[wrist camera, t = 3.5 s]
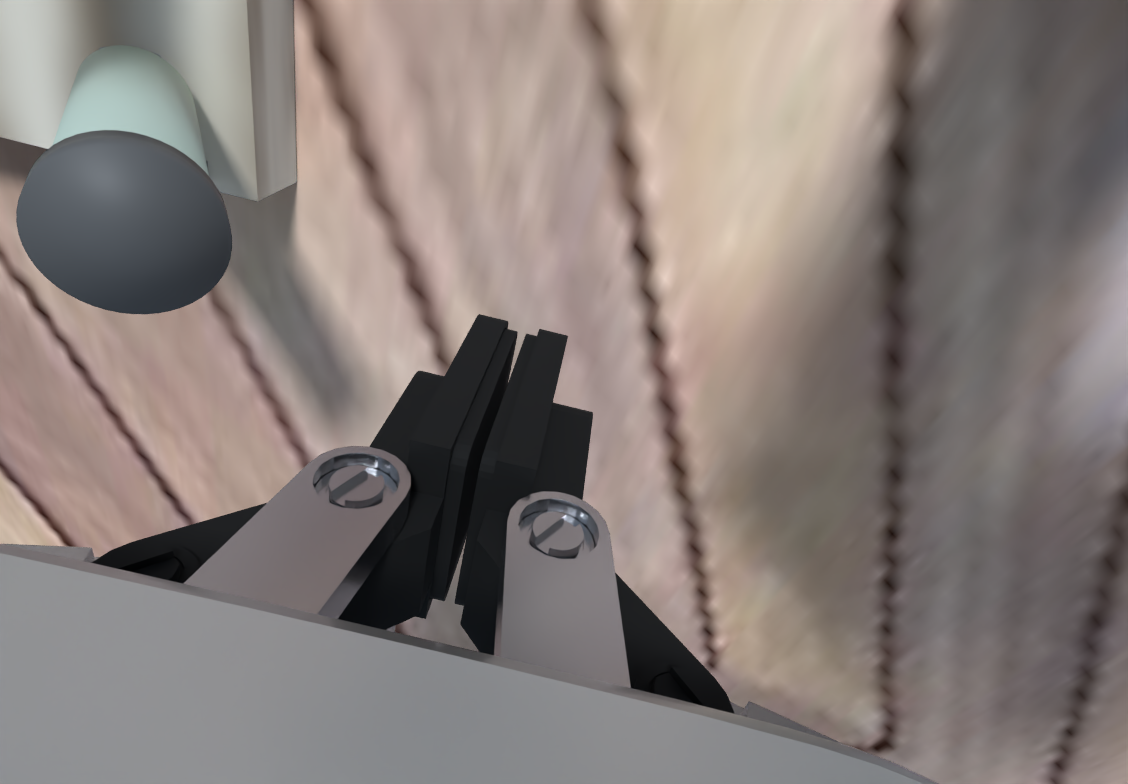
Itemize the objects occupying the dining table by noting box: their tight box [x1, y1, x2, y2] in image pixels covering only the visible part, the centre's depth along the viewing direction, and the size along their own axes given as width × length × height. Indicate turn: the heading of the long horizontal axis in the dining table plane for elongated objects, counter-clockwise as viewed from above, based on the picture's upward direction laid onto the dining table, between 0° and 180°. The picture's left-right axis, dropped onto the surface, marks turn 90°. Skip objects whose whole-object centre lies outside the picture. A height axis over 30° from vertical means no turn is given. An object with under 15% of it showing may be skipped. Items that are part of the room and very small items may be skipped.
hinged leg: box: [17, 45, 232, 314], centre depth 17 cm, size 4×4×12 cm
